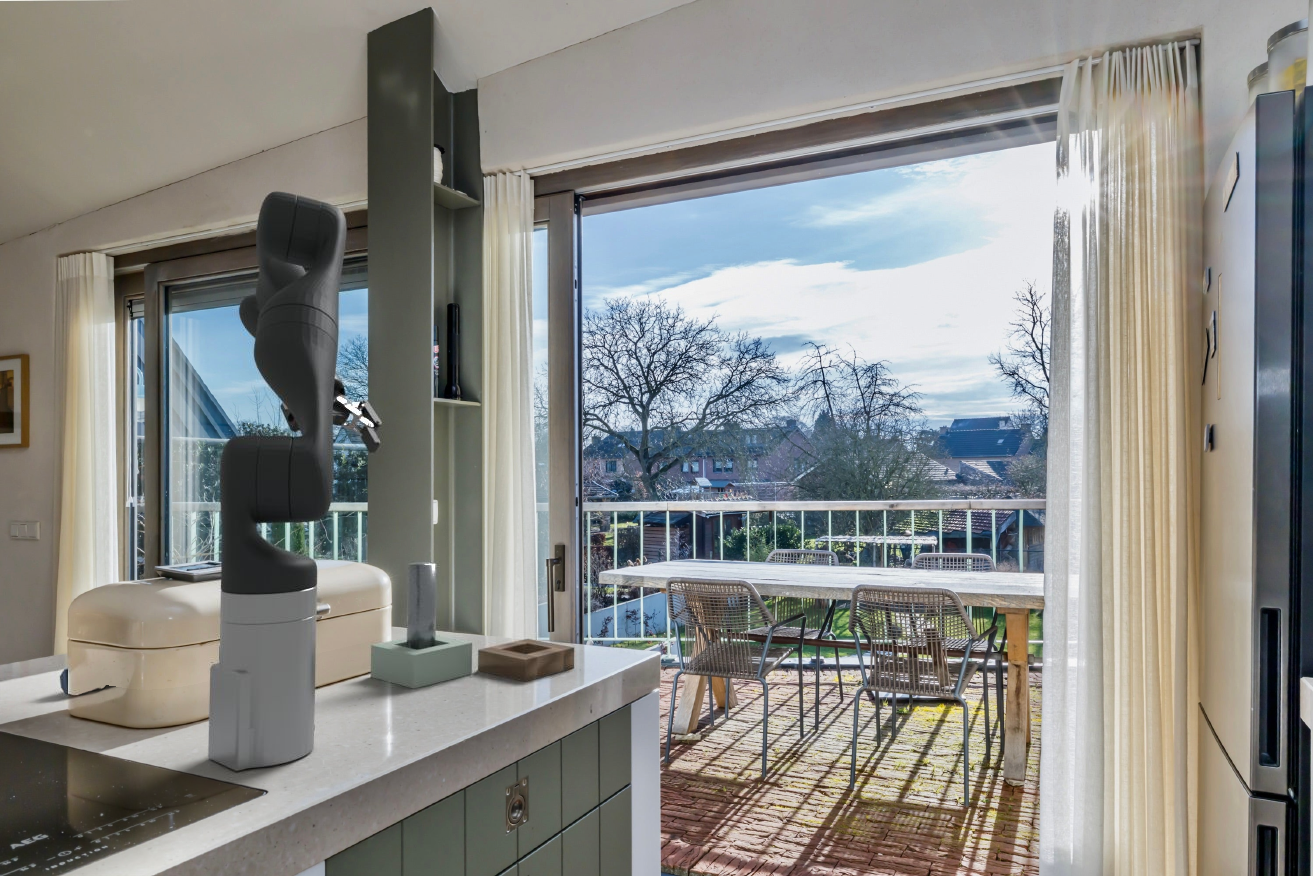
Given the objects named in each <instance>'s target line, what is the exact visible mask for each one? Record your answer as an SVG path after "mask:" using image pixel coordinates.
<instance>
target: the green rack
mask: <svg viewBox="0 0 1313 876" xmlns="http://www.w3.org/2000/svg"><path fill="white" fill-rule="evenodd" d="M472 674H473V642H470V641H466V640H461V639H456V638H453V637H451V638H450V637H447V636H441V635H437V634H436V646H434V647H430V648H425V649H420V650H416V649H411V648H407V637H406V638H401V639H396V640H391V641H390V640H389V641H385V642H380V643H375V644H371V645H370V677H371V678H374V679H378V680H381V681H385V682H389V683H392V684H396V685H400V686H403V687H406V688H411V689H418V688H421V687H426V686H429V685H433V684H434V685H435V684H437V683H442V682H447V681H450V680H454V679H457V678H461V677H465V676H469V675H472Z"/></svg>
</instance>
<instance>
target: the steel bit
mask: <svg viewBox="0 0 1313 876" xmlns="http://www.w3.org/2000/svg"><path fill="white" fill-rule="evenodd" d="M437 566H438V565H437V562H433V561H417V562H415V561H414V562H409V563H408V564H407V594H406V595H407V598H406V599H407V602H406V605H407V606H406V608H407V609H406V638H407V648H411V649H416V650H420V649H425V648H430V647H434V646H436V635H437V631H436V630H437V626H436V625H437V573H438V572H437V571H438V570H437V568H438V567H437Z"/></svg>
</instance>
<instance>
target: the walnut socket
mask: <svg viewBox="0 0 1313 876" xmlns="http://www.w3.org/2000/svg"><path fill="white" fill-rule="evenodd" d="M574 668H575V647H574V646H568V645H564V644H558V643H551V642H547V641H541V640H536V639H533V638H526V639H525V638H524V639H521V640H515V641H511V642H507V643H503V644H498V645H494V646H490V647H484V648H481V649H478V650H477V671H479V672H480V671H481V672H484V673H489V674H492V675H496V676H500V677H505V678H509V679H514V680H519V681H523V682H527V681H531V680H535V679H539V678H543V677H545V676H550V675H552V674H556V673H557V674H558V673H560V672H564V671H567V670H572V669H574Z"/></svg>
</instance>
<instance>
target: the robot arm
mask: <svg viewBox="0 0 1313 876" xmlns="http://www.w3.org/2000/svg"><path fill="white" fill-rule="evenodd" d="M347 230H348V228H347V219H346V216H345V214H344V212H343V211H342V210H341V208H339V207H338V206H335V205H333V204H331V203H329V202H324V201H321V200H317V199H313V198H310V197H306V196H302V195H299V194H298V195H297V194H293V193H289V192H285V191H271V192H270V193H269V194H267V195H266V196H265V198H264V199H263V201H262V203H261V207H260V209H259V213H258V219H257V224H256V232H255V233H256V234H255V246H256V247H255V249H256V257H257V258H256V259H257V263H258V264H257V265H258V270H259V271H258V272H259V273H258V279H257V283H256V289H255V294H251V295H248V296H246V297H244V298H243V299H242V300H241V302H240V304H239V309H238V316H239V318H240V319H239V320H240V321H241V324H242V325H243V326H244V329H246V331H247V332H248V333H249V334H250V335H251V336H252V337H253V338H254V345H253V358H254V363H255V366H256V368H257V370H258V372H259V373H260V375H261V377H262V379H263V380H264V382H265V383H266V384H267V385H268V387H269V388H270V389H271V390H272V391H273V393H275V395H276V396H277V397H278V399H280V400H281V404H280V409H281V412H282V414H283V416H284V419H285V420H286V423H287V425H288V427H289V428H288V429H289V430H290V431H292V432H293V433H298V432H299V431H300V433H301V435H300V436H299V435H298V436H297V435H296V436H295V435H293V436H292V435H291V436H290V435H289V436H288V435H237V436H236V435H235V436H234V437H231V438H230V439H229V440H227V442H226V443H225V445H224V446H223V450H222V453H221V456H220V463H219V464H220V465H219V500H220V502H219V503H220V518H221V519H220V520H221V521H220V524H221V525H220V526H221V549H220V550H221V553H220V557H221V560H220V561H221V566H220V567H221V568H220V571H221V572H220V608H219V609H220V610H219V611H220V612H219V613H220V615H219V619H220V646H219V660H218V663H214V664H211V666H210V668H209V702H208V703H209V706H208V707H209V708H208V709H209V710H208V746H207V747H208V749H207V751H208V753H207V757H208V759H210V760H212V761H214V762H216V763H217V764H219V765H220V764H221V765H223V766H225V767H227V768H229V769H232V770H233V771H235V772H236V771H237V772H238V771H242V770H246V769H250V768H251V769H252V768H263V767H271V766H276V765H280V764H284V763H288V762H292V761H295V760H297V759H300V758H302V757H304V756H306V755H308V754H309V753H311V752H312V751H313V749H314V748H315V744H314V743H315V731H316V725H315V717H316V716H315V713H316V712H315V710H316V709H315V707H316V706H315V705H316V668H317V667H316V665H317V664H316V662H317V661H316V659H317V658H316V654H317V653H316V652H317V651H316V650H317V612H318V611H317V610H318V609H317V607H318V606H317V604H318V603H317V602H318V566H317V562H316V561H315V560H314V559H313V558H312V557H309V556H307V555H304V554H300V553H297V552H294V551H293V552H292V551H290V550H287V549H284V548H281V547H279V546H277V545H275V544H273V543H272V542H270V541H269V540H267V539H266V538H264V537H263V536H262V535H261V534H260V533H259V531H258V528H257V524H286V523H287V524H288V523H289V524H291V523H293V524H295V523H296V524H297V523H298V524H299V523H310V522H317V521H319V520H322V519H323V518H325V516H326V515H327V514H328V512H329V510H330V508H331V504H332V500H333V495H334V483H335V482H334V480H335V462H334V461H335V460H334V459H335V458H334V456H335V455H334V452H335V451H334V426H339V427H342V428H343V429H345V430H347V431H348V432H352V431H353V432H354V433H356V434H358V435H359V436H361V437H360V438H361V440H362V442H363V444H364V446H365V448H366V449H367V451H368V452H369V453H370V454H375V453H376V452H377V450H378V449H379V447H380V445H381V440H380V438H379V437H378V435H377V432H378V430H379V429H380V427H381V425H382V424H383V423H382V419H380V417H379V416H378V414H377V413H376V411H375V410H374V408H373V407H372V406H371V404H370V403H369V401H368V400H367V399H365V398H361V399H360V401H359V402H353V401H352V400H351V399H349V398H348V397H347V395H346V390H345V385H344V383H343V381H342V380H341V378H340V376H339V374H338V372H337V370H336V369H337V362H338V351H339V350H338V349H339V333H340V332H339V321H340V320H339V315H340V313H339V309H340V306H339V304H340V302H339V300H340V286H341V285H340V284H341V278H342V271H343V264H344V259H345V258H344V257H345V251H346V241H347V233H348V231H347ZM305 268H307V269H308V268H309V270H308V271H307V272H306V270H305ZM350 415H352V420H351V421H350V422H349V421H348V419H349V417H350ZM358 423H359V424H361V425H363V426H362V427H360V426H359V425H358Z"/></svg>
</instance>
